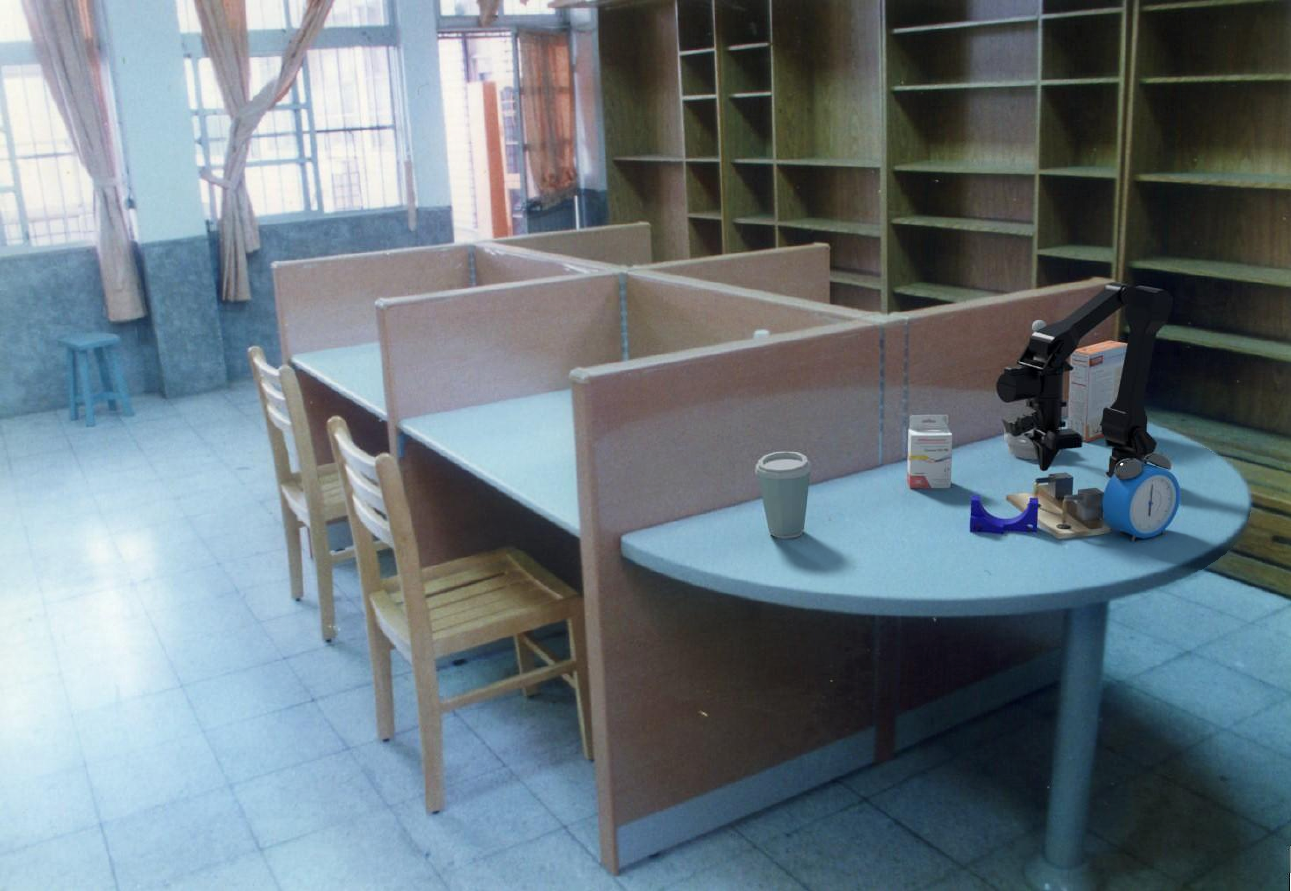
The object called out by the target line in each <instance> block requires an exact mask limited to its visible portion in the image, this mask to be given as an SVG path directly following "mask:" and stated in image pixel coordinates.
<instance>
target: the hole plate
mask: <svg viewBox="0 0 1291 891" xmlns="http://www.w3.org/2000/svg"><path fill="white" fill-rule="evenodd" d="M1103 495H1104V491H1102V490H1101V489H1099V488H1097V487H1091V488H1081V489H1077V494H1073V495H1067V496H1064V498H1053V497H1052V496H1051V495H1049V494H1048V484H1041V485H1039V484H1038V522H1037V525H1038V526H1040V527H1042V528H1043V529H1044V530H1045V531H1047V533H1050V534H1051V535H1052V536H1054V537H1055V538H1056V539H1057V540H1064V539H1075V538H1081V537H1082V538H1083V537H1090V536H1098V535H1099V536H1100V535H1109V534H1110V533H1111V528H1110V527H1108V525H1105V524H1104V523H1103V519H1104V512H1103ZM1030 498H1034V491H1032V492H1022V493H1021V492H1020V493H1014V494H1013V493H1012V494H1006V495H1005V501H1007V502H1008V503H1009V504H1011V505H1012V506H1014V507H1015V508H1016V509H1017V510H1019V511H1020V512H1021V513H1023V512H1024V511H1025V509H1026V508H1027V506H1028V504H1029V501H1030ZM1075 501H1076V502H1075Z"/></svg>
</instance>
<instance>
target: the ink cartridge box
mask: <svg viewBox="0 0 1291 891" xmlns="http://www.w3.org/2000/svg"><path fill="white" fill-rule="evenodd" d="M928 420H930V421H935V422H923V421H928ZM949 421H950V416H949V415H948V414H920V415H919V414H918V415H917V414H916V415H915V414H911V415H910V416H909V427H908V428H909V429H907V431H908V433H907V434H908V435H907V437H908V438H907V468H906V469H907V472H906V473H907V474H906V481H907V484H908V487H909V489H951V486H952V485H951V484H952V462H953V460H952V457H953V456H952V454H953V433H952V431H951V429H950V428H949Z"/></svg>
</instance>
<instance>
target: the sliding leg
mask: <svg viewBox="0 0 1291 891" xmlns="http://www.w3.org/2000/svg"><path fill="white" fill-rule="evenodd" d="M1047 475H1048V476H1045V477H1036V478H1035V480H1034V486H1033V492H1034V498H1038V486H1039V484H1047V485H1048V494H1049V495H1051V496H1052V497H1053V498H1064V496H1067V495H1074V492H1073V491H1074V476H1072V475H1071V474H1069V473H1068V472H1066V471H1065V472H1055V473H1049V474H1047Z"/></svg>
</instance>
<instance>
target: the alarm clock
mask: <svg viewBox="0 0 1291 891" xmlns="http://www.w3.org/2000/svg"><path fill="white" fill-rule="evenodd" d="M1141 461H1147V463H1145V462H1141ZM1141 461H1139V460H1137V459H1134V458H1126V459H1123V460H1121V461H1119V462H1118V463H1117V464H1116V466H1115V469H1114V475H1113V476H1112V477H1110V479H1109V480H1108V482H1107V484H1106V485H1105V489H1104V491H1103V492H1104V495H1103V516H1104V517H1105V520H1106V521H1107V523H1108V524H1109V525H1110V526H1111V527H1113V528H1114V529H1117V530H1119V531H1122V532H1123V533H1126V534H1128V535H1131V536H1132V540H1131V542H1135V540H1136V539H1137V538H1139V539H1150V538H1154V537H1155V536H1158V535H1159V534H1160V535H1163V532H1164V531H1165V530H1166V529H1167V528H1168V527H1169V525H1170V524H1171V523H1172V522H1173V520H1174V518H1175V517H1176V514H1177V513H1178V510H1179V506H1180V502H1181V488H1180V487H1181V486H1180V483H1179V482H1178V479H1177V477H1176V476H1175V475H1174V473H1172V472H1171V470H1172V466H1173V465H1172V461H1171V459H1170V458H1169V457H1168V456H1166V455H1164V452H1161V453H1159V452H1154V453H1149V454H1147V455H1146V456H1145V457H1144V459H1142V460H1141Z"/></svg>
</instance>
